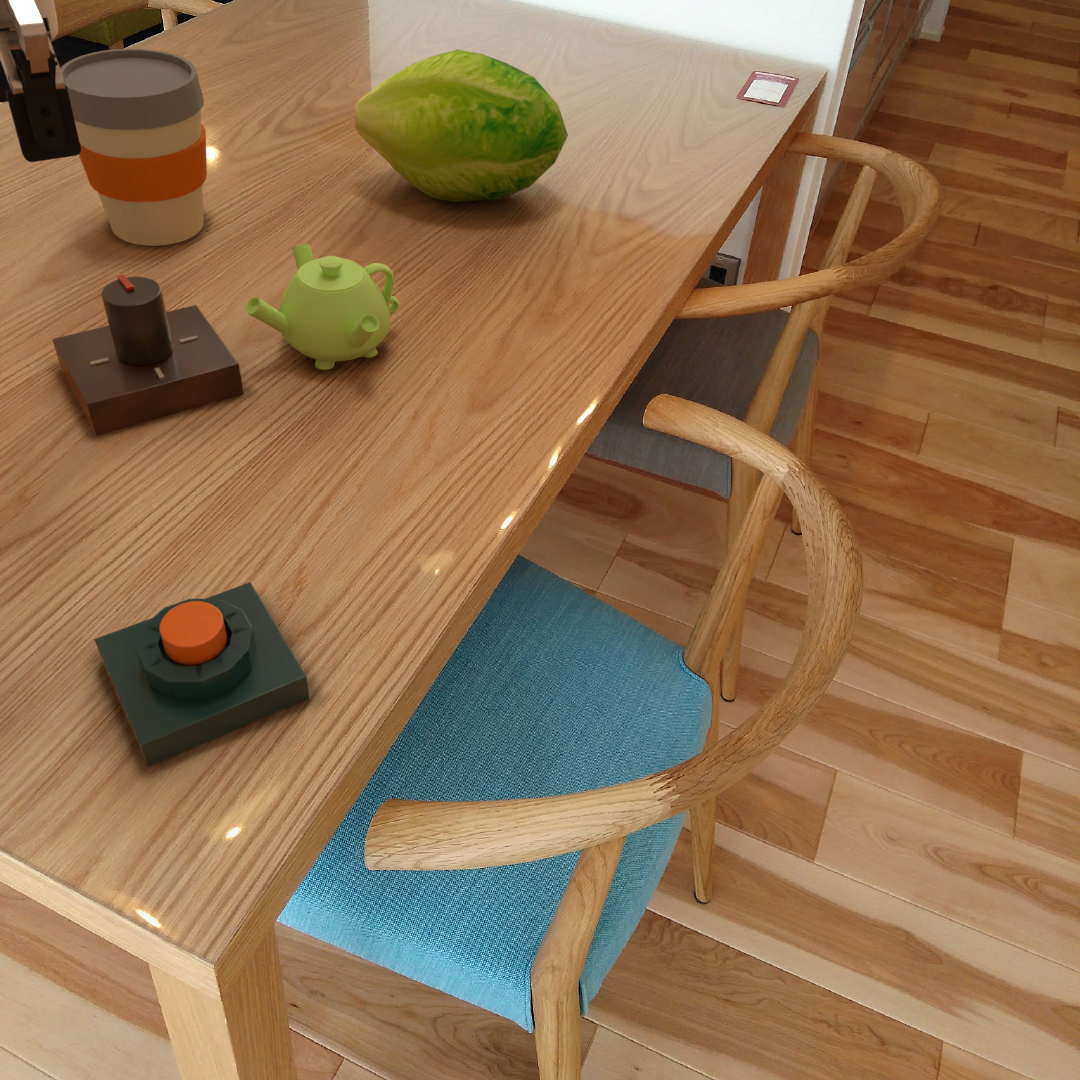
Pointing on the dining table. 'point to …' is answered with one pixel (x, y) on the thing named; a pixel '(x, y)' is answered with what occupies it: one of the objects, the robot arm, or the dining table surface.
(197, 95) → the reusable coffee cup
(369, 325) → the teapot
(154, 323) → the dial
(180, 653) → the orange push button
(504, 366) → the dining table surface
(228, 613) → the button housing
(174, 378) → the dial panel
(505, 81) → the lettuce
